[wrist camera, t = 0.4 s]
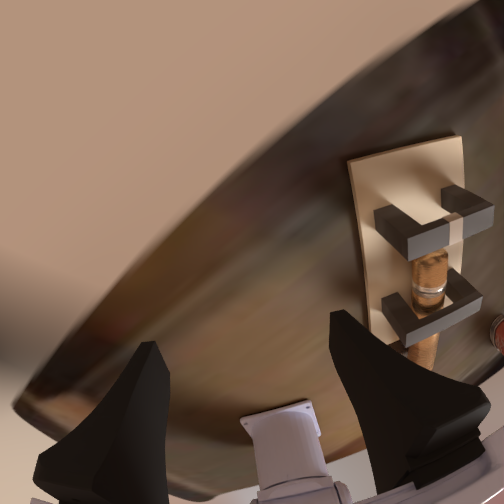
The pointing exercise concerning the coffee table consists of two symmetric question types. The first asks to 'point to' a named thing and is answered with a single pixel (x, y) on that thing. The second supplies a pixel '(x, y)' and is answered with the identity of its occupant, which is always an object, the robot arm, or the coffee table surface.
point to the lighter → (498, 333)
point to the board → (412, 199)
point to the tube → (428, 300)
